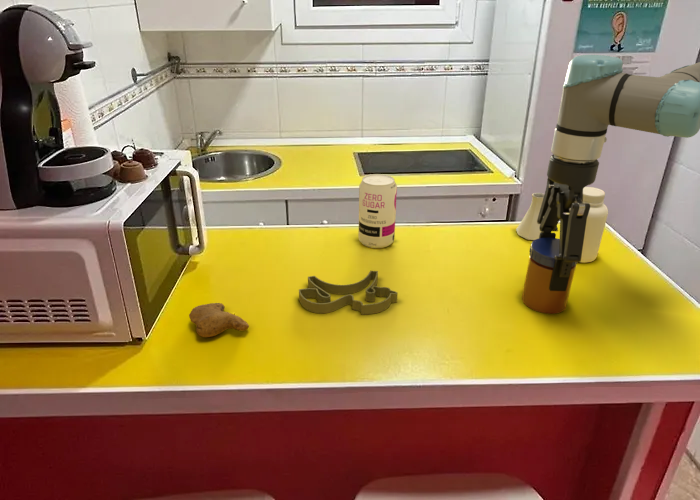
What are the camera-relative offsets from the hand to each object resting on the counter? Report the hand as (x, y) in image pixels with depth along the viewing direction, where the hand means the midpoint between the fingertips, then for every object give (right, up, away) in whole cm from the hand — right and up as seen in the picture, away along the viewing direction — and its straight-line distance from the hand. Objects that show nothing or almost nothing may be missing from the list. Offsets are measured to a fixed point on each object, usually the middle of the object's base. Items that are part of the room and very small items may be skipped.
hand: (549, 276), depth 95 cm
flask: (+7, +8, +28) cm, 30 cm away
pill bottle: (+13, +4, +19) cm, 24 cm away
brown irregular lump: (-59, -8, -4) cm, 60 cm away
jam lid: (0, +5, -3) cm, 5 cm away
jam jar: (0, -5, +3) cm, 6 cm away
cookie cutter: (-37, -4, +3) cm, 37 cm away
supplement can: (-30, +7, +24) cm, 40 cm away
